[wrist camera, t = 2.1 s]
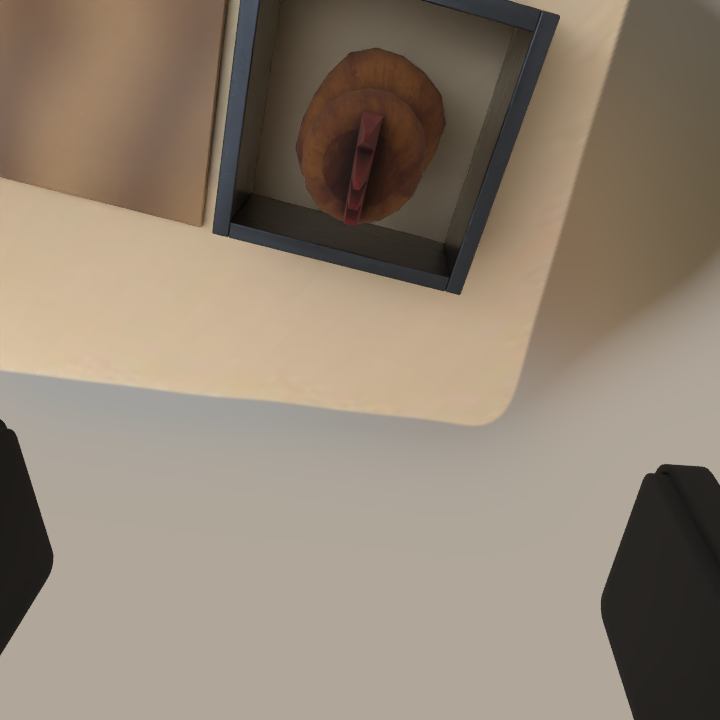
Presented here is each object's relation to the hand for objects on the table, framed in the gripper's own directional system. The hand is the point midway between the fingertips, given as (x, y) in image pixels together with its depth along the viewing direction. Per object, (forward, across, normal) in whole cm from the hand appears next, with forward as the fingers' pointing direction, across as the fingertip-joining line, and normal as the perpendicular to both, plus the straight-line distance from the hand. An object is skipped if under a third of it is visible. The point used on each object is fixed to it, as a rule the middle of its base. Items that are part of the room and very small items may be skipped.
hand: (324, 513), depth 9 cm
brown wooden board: (+26, +18, -4) cm, 32 cm away
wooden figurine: (+27, 0, -2) cm, 27 cm away
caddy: (+26, 0, -2) cm, 27 cm away
